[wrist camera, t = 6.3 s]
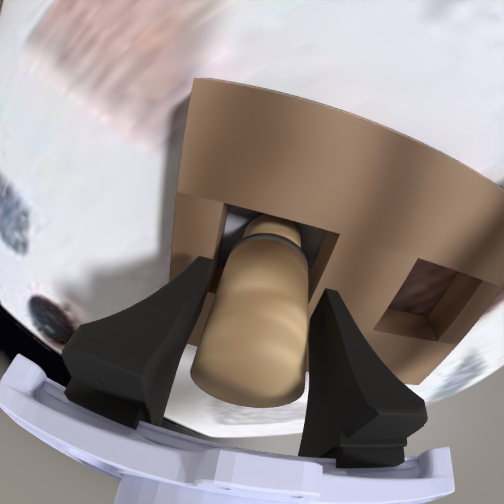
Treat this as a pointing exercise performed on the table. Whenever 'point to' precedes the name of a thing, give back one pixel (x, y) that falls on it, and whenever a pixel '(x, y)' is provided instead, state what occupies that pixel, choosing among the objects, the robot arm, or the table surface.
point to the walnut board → (342, 212)
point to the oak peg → (258, 320)
